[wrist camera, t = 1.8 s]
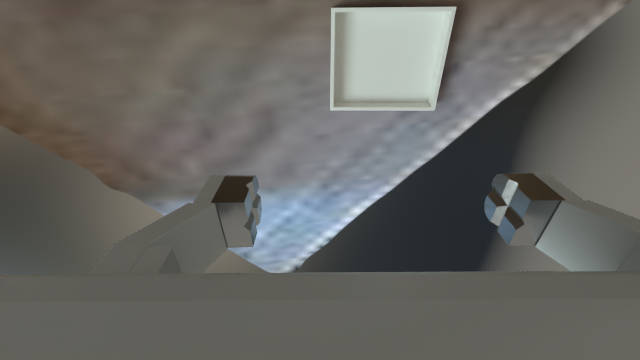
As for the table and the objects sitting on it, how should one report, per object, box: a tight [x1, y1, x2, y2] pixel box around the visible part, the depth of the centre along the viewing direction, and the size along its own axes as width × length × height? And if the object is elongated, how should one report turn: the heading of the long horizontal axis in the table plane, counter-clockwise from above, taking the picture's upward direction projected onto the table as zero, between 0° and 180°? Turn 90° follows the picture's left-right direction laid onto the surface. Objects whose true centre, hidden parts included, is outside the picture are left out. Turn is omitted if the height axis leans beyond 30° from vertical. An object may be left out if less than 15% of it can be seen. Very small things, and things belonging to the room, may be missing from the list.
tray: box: [330, 7, 456, 111], centre depth 33 cm, size 13×11×2 cm
